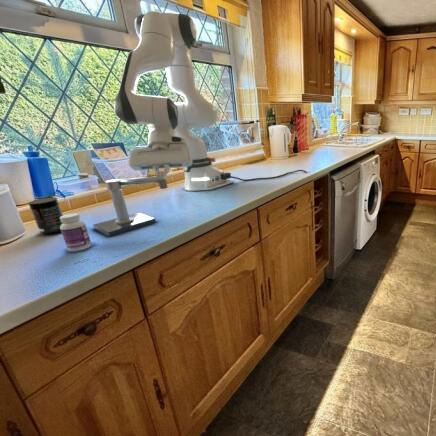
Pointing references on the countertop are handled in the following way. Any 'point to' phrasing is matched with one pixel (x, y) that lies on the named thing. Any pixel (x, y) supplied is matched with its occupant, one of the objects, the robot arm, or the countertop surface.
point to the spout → (135, 182)
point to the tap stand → (122, 217)
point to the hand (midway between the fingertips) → (161, 177)
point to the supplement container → (47, 215)
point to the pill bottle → (74, 232)
